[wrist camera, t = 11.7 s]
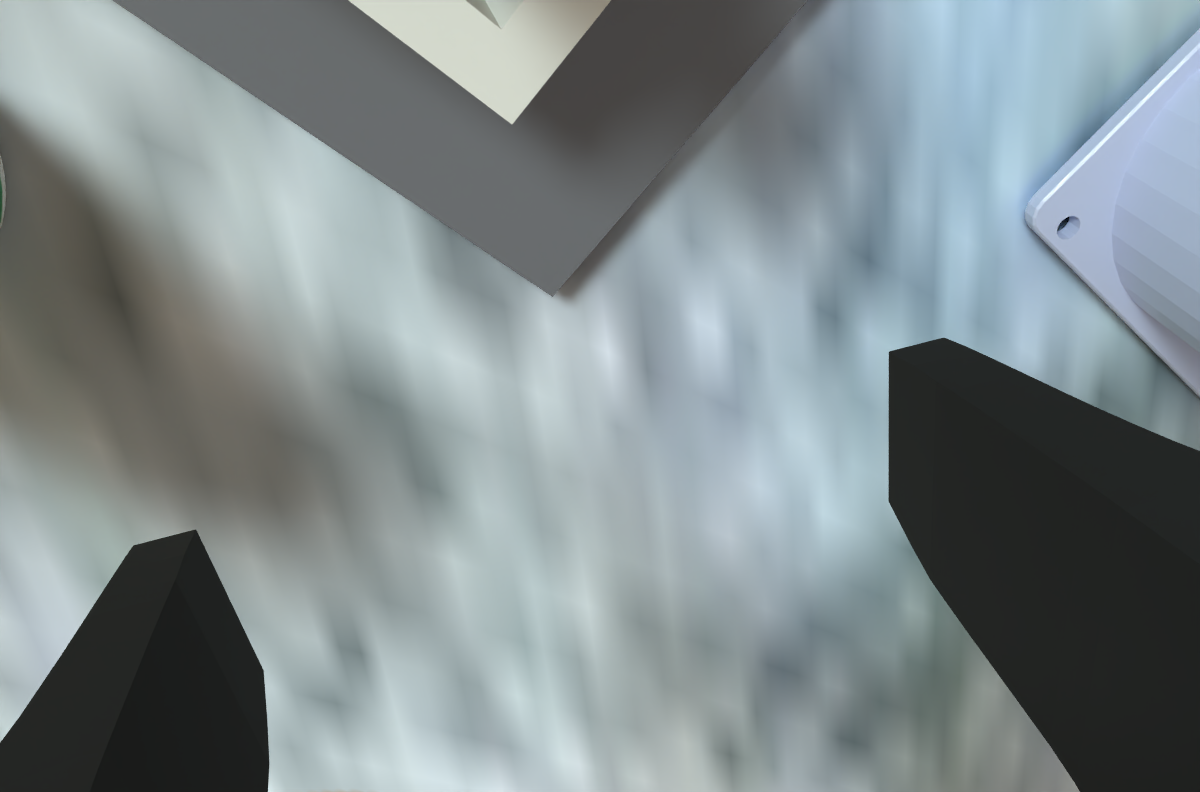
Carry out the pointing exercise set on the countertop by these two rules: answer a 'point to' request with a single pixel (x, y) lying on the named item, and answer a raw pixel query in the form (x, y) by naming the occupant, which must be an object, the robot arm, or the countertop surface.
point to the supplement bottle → (2, 192)
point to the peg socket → (490, 98)
